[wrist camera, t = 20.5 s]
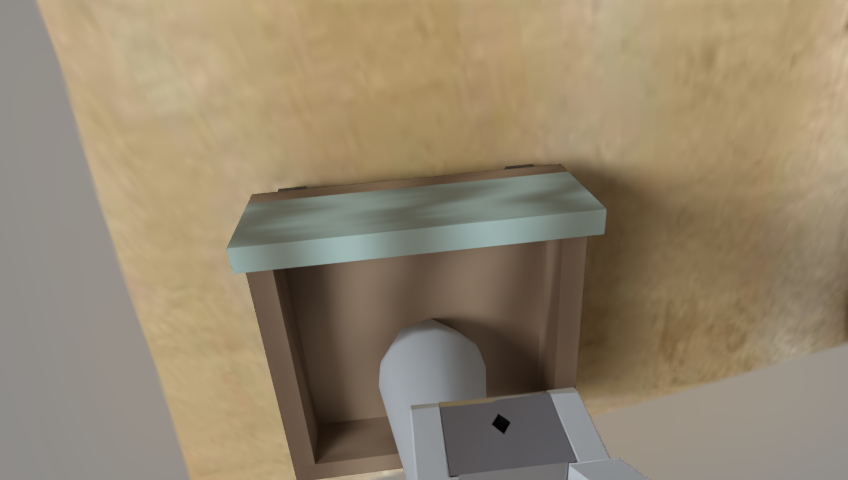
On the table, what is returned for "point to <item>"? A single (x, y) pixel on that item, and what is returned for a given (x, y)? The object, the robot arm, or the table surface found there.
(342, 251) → the open wooden tray
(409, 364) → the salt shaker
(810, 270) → the table surface
